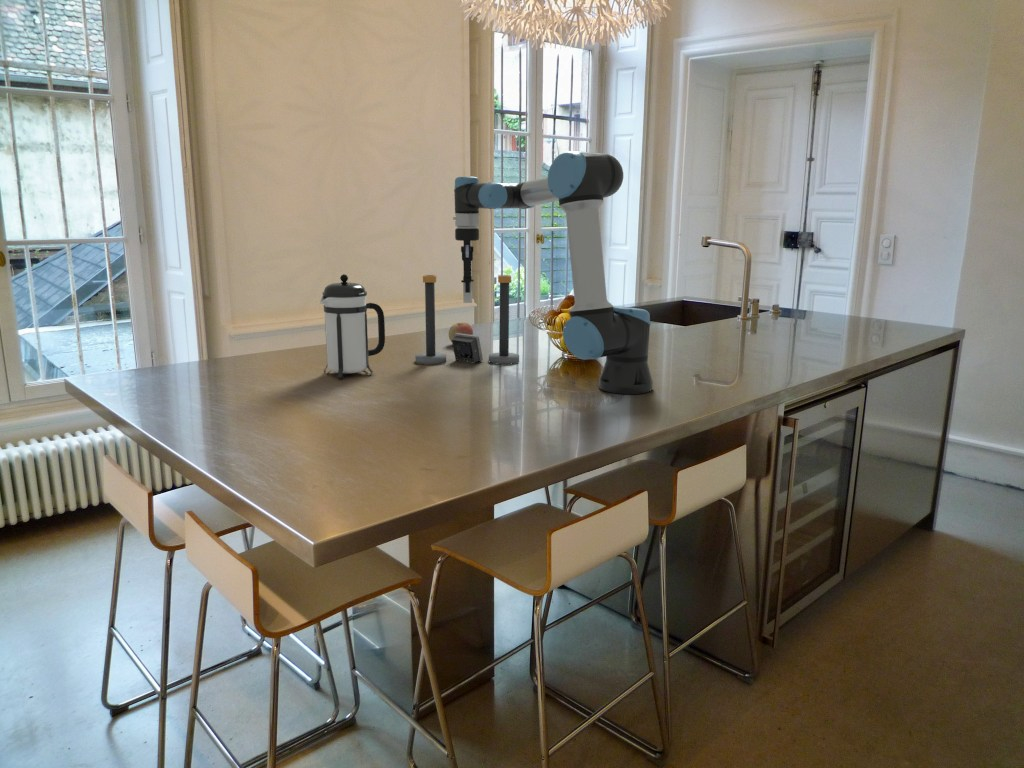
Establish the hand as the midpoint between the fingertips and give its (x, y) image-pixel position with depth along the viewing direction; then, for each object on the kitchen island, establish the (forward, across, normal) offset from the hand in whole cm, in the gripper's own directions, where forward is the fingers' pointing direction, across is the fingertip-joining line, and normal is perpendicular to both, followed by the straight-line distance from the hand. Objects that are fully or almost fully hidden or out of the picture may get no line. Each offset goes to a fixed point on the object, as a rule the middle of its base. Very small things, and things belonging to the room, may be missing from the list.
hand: (467, 302), depth 244 cm
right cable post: (+20, 0, +12) cm, 23 cm away
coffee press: (+20, +17, -35) cm, 44 cm away
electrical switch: (+20, 0, 0) cm, 20 cm away
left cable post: (+19, 0, -12) cm, 23 cm away
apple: (+20, -29, -3) cm, 35 cm away
